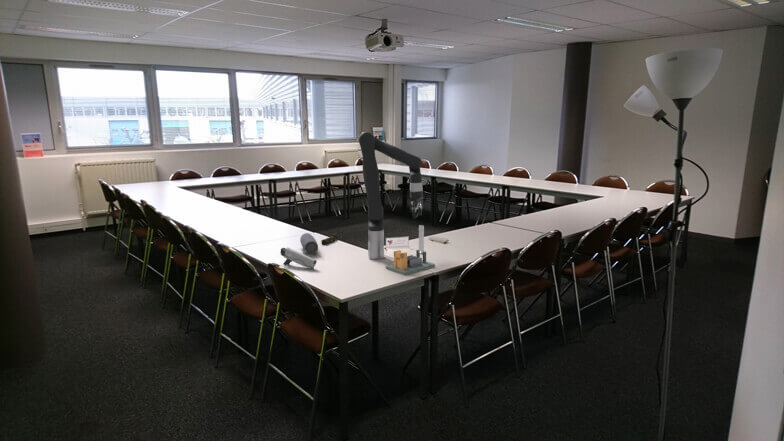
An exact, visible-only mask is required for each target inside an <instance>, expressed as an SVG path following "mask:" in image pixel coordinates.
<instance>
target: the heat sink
mask: <svg viewBox="0 0 784 441" xmlns="http://www.w3.org/2000/svg"><path fill="white" fill-rule="evenodd" d="M422 260H423V257H420V258H419V257H416V255H413V254H411V255H407V267H409V268H413V267H417V266H420V265H422Z"/></svg>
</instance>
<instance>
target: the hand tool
mask: <svg viewBox="0 0 784 441" xmlns="http://www.w3.org/2000/svg"><path fill="white" fill-rule="evenodd" d="M338 239H339V233H336V232H335V233H333V234H332V235H331V236H329V237H326V238H325V239H321V241H320V242H321V245H322V246H326V245H328V244H329V243H331V242H333V241H335V240H336V241H338Z"/></svg>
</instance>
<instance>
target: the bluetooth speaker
mask: <svg viewBox="0 0 784 441" xmlns="http://www.w3.org/2000/svg"><path fill="white" fill-rule="evenodd" d="M299 239H300V240H299V242H300V244H301V246H302V249H303V250H304V251H305V253H307V254H309V255H313V254H316V253H317V251H318V250H319V244H318V242H317V240H316V238H315V237H314V236H313V235H312V234H310V233H309V232H308V233H303V234H302V235H300V238H299Z"/></svg>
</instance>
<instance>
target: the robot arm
mask: <svg viewBox="0 0 784 441" xmlns="http://www.w3.org/2000/svg"><path fill="white" fill-rule="evenodd" d="M357 141H358V143H359V144H358V145H359V147H360V151H361V156H362V176H363V177H362V178H363V184H364V188H365V192H366V195H367V220H368V221H367V228H368V241H367V246H368V247H367V251H368V252H367V254H368V255H367V256H368V258H369V259H370V260H381V259H384V258H385V235H384V234H385V233H384V231H385V229H384V224H385V223H384V207H383V203H382V200H381V193H380V192H381V185H380V182H381V181H380V173H379V167H378V162H377V159H376V158H377V157H376V151H377V152H379V153H381V154H383V155H385V156H387V157H389V158H390V159H393V160H395V161H397V162H399V163H402V164H404V165H406V166H408V169H409V171H408V172H409V198H410V199H412V201H409V202H410V204H409V205H410V206H409V207H410V209H409V212H411V214H412V219H417V215H418V216H422V215H423V211H422V210H423V208H424V198H423V196H424V195H423V194H424V190H423V180H422V177H423V176H422V173H421V167H422V165H423V162H422V159H421V158H420V157H419V156H417V155H414V154H412V153H409V152H407V151H405V150H403V149H401V148H399V147H396V146H395V145H392V144H389V143H387V142H384V141H383V140H381V139H379V138H377V137H376V136H374V134H372V132H369V131H363V132H362V133H360V134H359V136H358V140H357Z"/></svg>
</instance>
